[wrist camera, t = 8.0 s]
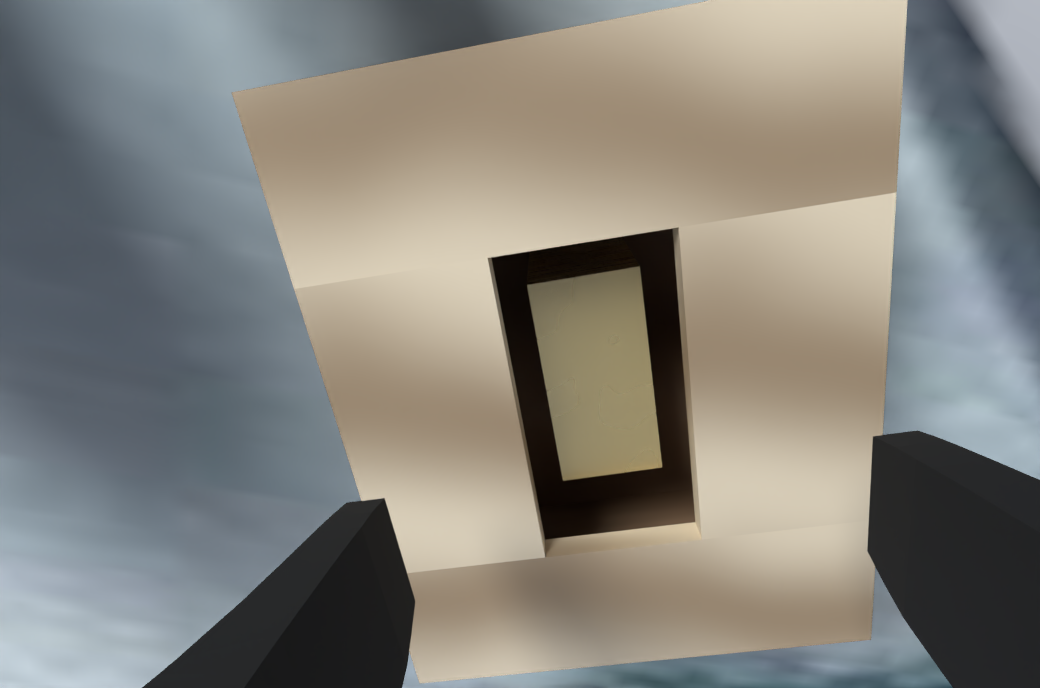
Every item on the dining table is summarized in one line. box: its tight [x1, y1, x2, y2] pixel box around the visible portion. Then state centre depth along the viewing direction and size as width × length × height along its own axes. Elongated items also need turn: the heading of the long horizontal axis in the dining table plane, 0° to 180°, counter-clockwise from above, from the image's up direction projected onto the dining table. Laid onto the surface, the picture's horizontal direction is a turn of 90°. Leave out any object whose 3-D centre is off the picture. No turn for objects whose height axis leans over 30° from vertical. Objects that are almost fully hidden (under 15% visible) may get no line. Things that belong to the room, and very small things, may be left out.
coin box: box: [232, 0, 907, 683], centre depth 15 cm, size 14×11×6 cm
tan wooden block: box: [527, 237, 662, 481], centre depth 16 cm, size 5×2×4 cm, turn 10°
